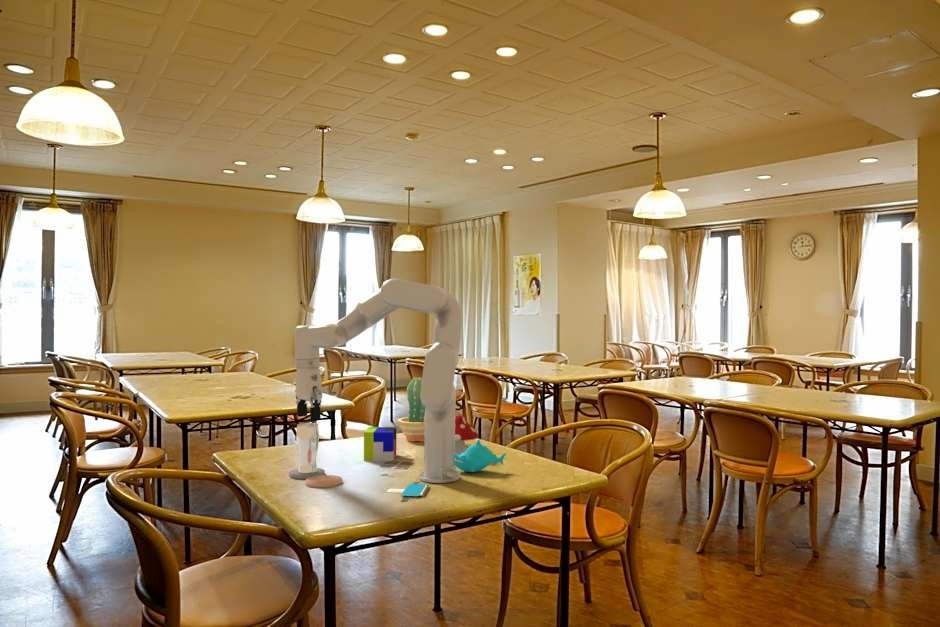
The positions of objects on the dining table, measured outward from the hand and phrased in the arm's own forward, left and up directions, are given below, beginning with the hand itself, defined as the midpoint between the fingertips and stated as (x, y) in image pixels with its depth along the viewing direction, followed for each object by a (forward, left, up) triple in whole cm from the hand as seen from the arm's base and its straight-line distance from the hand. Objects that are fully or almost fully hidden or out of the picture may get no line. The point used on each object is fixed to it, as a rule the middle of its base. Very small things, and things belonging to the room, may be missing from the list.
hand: (308, 418), depth 210 cm
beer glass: (0, 0, -17) cm, 17 cm away
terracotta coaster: (-12, 0, -18) cm, 22 cm away
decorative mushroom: (-9, -54, -18) cm, 57 cm away
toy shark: (-30, -46, -18) cm, 57 cm away
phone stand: (-35, -15, -19) cm, 42 cm away
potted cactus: (+26, -59, -18) cm, 67 cm away
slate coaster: (0, 0, -18) cm, 18 cm away
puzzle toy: (+7, -31, -18) cm, 36 cm away
